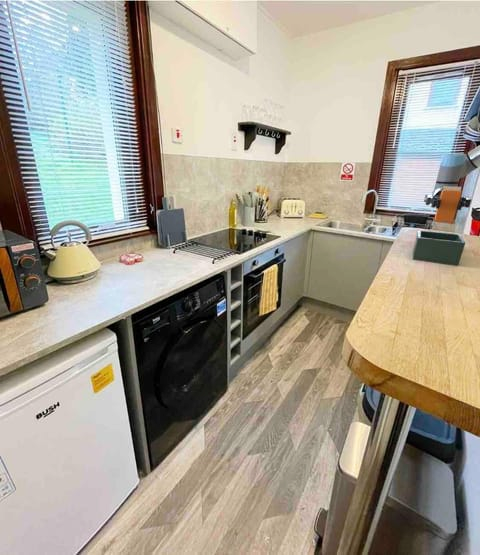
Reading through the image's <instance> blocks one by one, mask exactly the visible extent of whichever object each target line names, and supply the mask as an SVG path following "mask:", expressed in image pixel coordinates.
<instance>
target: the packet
mask: <svg viewBox="0 0 480 555" xmlns="http://www.w3.org/2000/svg"><path fill="white" fill-rule="evenodd" d="M462 192H463V191H462V186H457V187H447V186H444V189H443V190H442V193H441V196H440V199H441V203H440V206H439V209H436V211H435V215H434V219H433V220H434V222H440V223H451V224H452V223H453V222H454V219H455V217H456V212H457V211H458V210H457V206H458V203H459V199H460V198H461V197H462V196H461V195H462Z"/></svg>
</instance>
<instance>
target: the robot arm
mask: <svg viewBox="0 0 480 555" xmlns="http://www.w3.org/2000/svg"><path fill="white" fill-rule="evenodd" d="M479 168H480V144H479V145H478V146H476V147H475V148H473V149H471V150H469V151H468V152H467V153H445V154H444V155H443V156H442V159H441V161H440V163H439V168H438V173H437V175H436V176H437V177H436V181H435V183H434V187H433V191H432V194H425V196H424V199H423V202H424V203H425V205H426V206H430V205H431V206H430V208H432V209H433V208H435V209H436V210H437V209H439V206H440V203H441V199H440V196H441V193H442V190H443V189H444V186H447V187H459V183H460V179H463V178H464V177H466V176H468V175H469V174H471V173H472V172H473V171H475V170H477V169H479ZM471 203H472V199H471V196H460V199H459V203H458V206H457V210H456V211H461V210H462V208H470V206H471Z"/></svg>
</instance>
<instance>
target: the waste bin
mask: <svg viewBox="0 0 480 555" xmlns="http://www.w3.org/2000/svg"><path fill="white" fill-rule="evenodd" d="M414 241H415V242H414V245H413V248H412V260H415V261H421V262H427V263H429V262H430V263H435V264H443V265H449V266H457V267H458V266H459V264H460V261H461V258H462V255H463V252H464V250H465V246H466V241H465V240H464V237H463V236H462V234H460V233H451V232H441V231H430V230H420V229H418V230H417V233H416V236H415V240H414Z"/></svg>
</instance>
